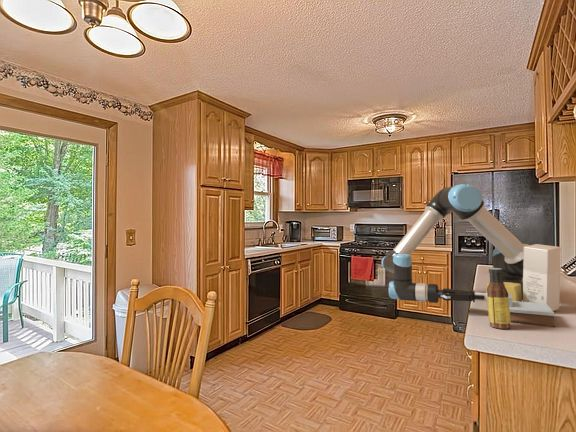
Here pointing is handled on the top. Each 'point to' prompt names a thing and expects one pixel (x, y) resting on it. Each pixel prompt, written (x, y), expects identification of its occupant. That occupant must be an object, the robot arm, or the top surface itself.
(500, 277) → the sauce bottle
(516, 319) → the brown flat block
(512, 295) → the cheese
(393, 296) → the robot arm
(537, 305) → the lid
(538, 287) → the tall white carton
